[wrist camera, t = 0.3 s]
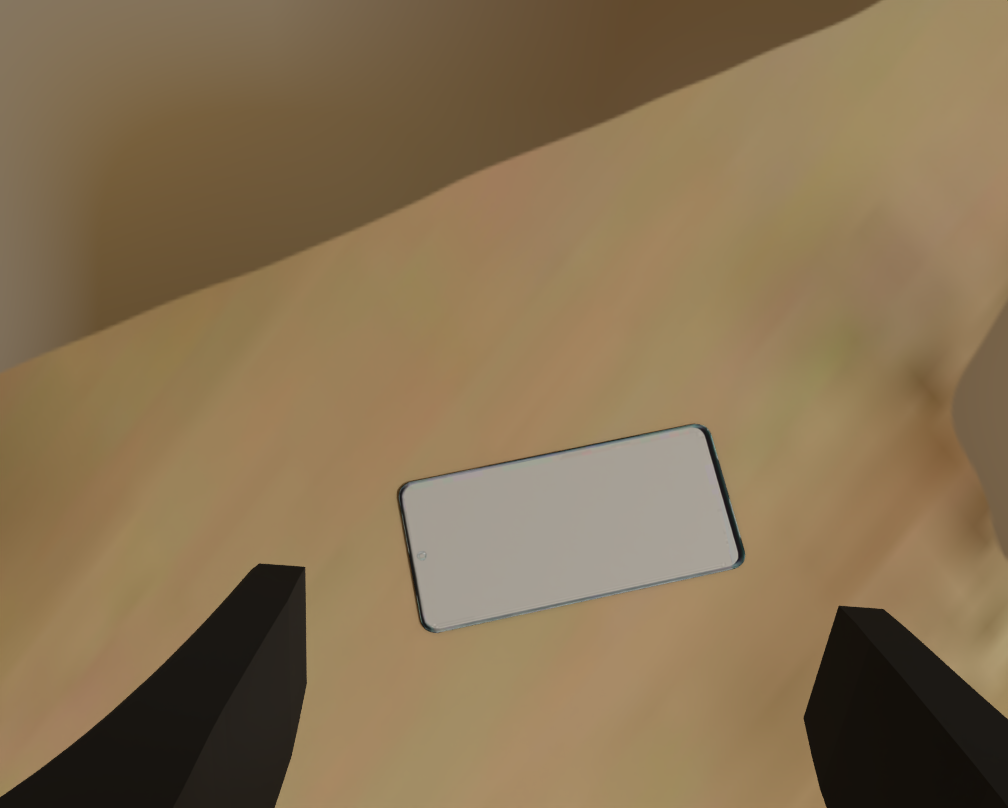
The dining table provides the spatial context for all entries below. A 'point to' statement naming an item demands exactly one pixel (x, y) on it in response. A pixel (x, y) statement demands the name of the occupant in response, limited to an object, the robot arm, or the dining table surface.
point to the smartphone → (568, 527)
